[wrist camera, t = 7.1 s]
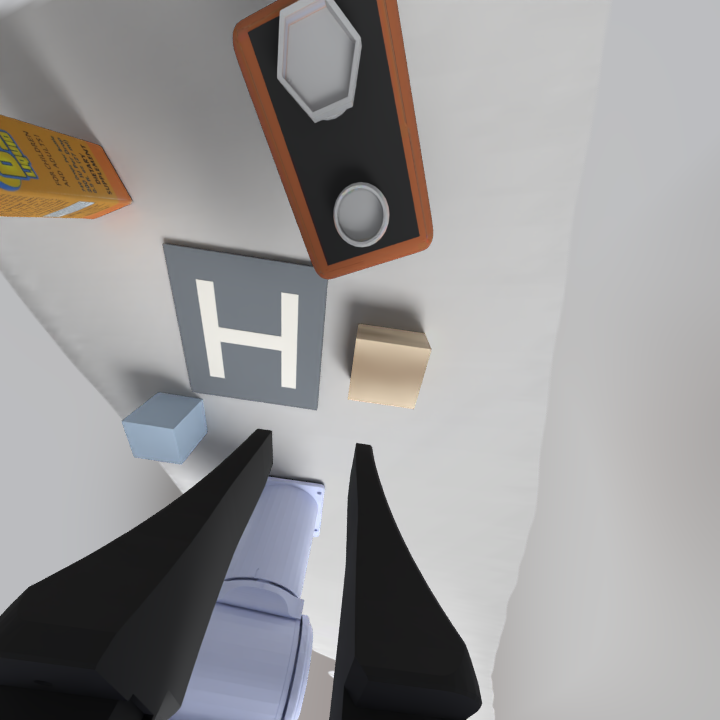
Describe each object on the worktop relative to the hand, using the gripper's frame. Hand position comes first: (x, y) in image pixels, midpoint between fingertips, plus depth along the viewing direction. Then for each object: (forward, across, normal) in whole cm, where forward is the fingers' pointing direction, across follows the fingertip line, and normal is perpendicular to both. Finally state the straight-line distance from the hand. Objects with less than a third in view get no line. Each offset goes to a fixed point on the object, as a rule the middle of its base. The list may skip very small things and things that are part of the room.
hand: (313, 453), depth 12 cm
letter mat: (+10, +7, 0) cm, 13 cm away
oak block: (+11, -4, 0) cm, 11 cm away
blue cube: (+10, +14, +9) cm, 20 cm away
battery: (+11, 0, -11) cm, 15 cm away
